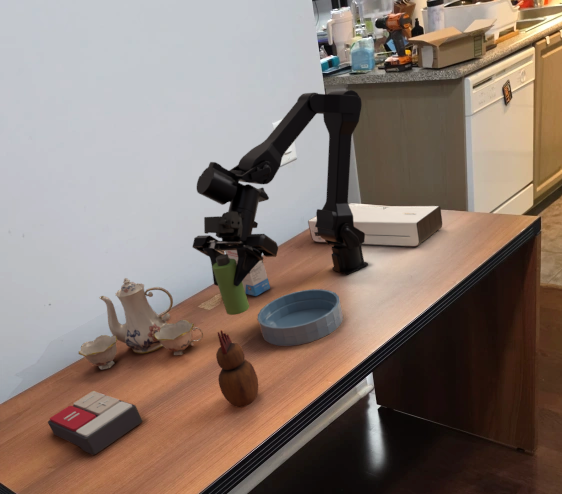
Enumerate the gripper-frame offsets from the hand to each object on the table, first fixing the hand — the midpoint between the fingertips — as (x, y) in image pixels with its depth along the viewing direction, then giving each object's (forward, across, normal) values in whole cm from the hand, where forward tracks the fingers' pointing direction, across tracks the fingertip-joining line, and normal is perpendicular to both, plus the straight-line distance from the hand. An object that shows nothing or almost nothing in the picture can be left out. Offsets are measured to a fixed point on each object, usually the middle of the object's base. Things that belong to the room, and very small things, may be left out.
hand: (225, 285), depth 134 cm
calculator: (+34, -7, -18) cm, 39 cm away
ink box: (-6, -12, +23) cm, 27 cm away
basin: (+5, +13, +12) cm, 18 cm away
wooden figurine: (+24, +17, -7) cm, 30 cm away
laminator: (-29, +5, +46) cm, 55 cm away
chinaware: (+15, -20, +1) cm, 25 cm away
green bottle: (+4, 0, +5) cm, 6 cm away
